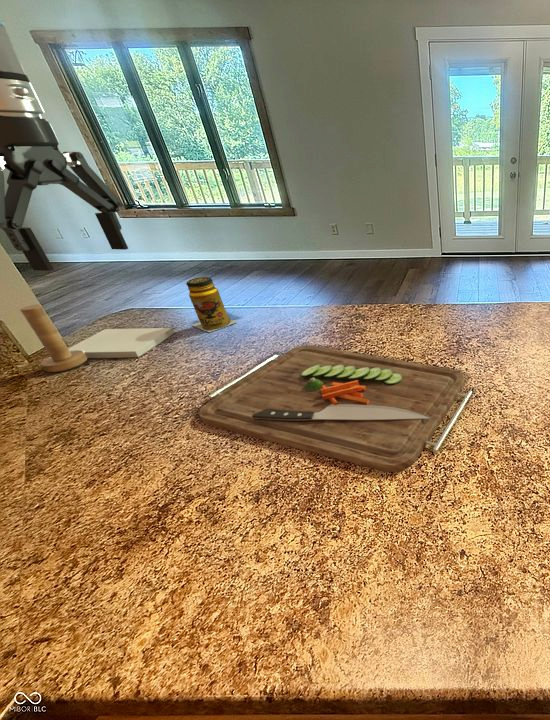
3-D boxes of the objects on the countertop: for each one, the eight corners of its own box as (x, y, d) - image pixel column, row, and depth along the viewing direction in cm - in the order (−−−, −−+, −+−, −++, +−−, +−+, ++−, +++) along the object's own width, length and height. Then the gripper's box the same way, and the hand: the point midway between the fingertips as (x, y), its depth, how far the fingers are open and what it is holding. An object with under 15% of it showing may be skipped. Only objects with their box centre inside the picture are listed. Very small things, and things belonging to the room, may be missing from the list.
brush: (39, 379, 75) (-6, 314, 68) (69, 362, 81) (29, 301, 74) (72, 378, 76) (30, 313, 69) (99, 362, 81) (63, 300, 74)
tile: (63, 358, 82) (59, 352, 82) (108, 334, 93) (105, 328, 92) (138, 357, 83) (135, 351, 82) (174, 333, 93) (172, 327, 93)
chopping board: (481, 380, 74) (481, 366, 73) (421, 481, 52) (420, 465, 51) (294, 347, 87) (290, 335, 85) (182, 418, 65) (174, 403, 63)
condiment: (209, 333, 93) (190, 286, 87) (191, 325, 97) (172, 280, 91) (238, 322, 99) (222, 277, 93) (220, 315, 102) (204, 272, 96)
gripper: (-81, 110, 45) (25, 281, 56) (112, 119, 67) (162, 242, 77) (-136, 110, 46) (-21, 280, 57) (73, 119, 67) (128, 241, 78)
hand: (85, 258), depth 67 cm, fingers open, 13 cm apart
